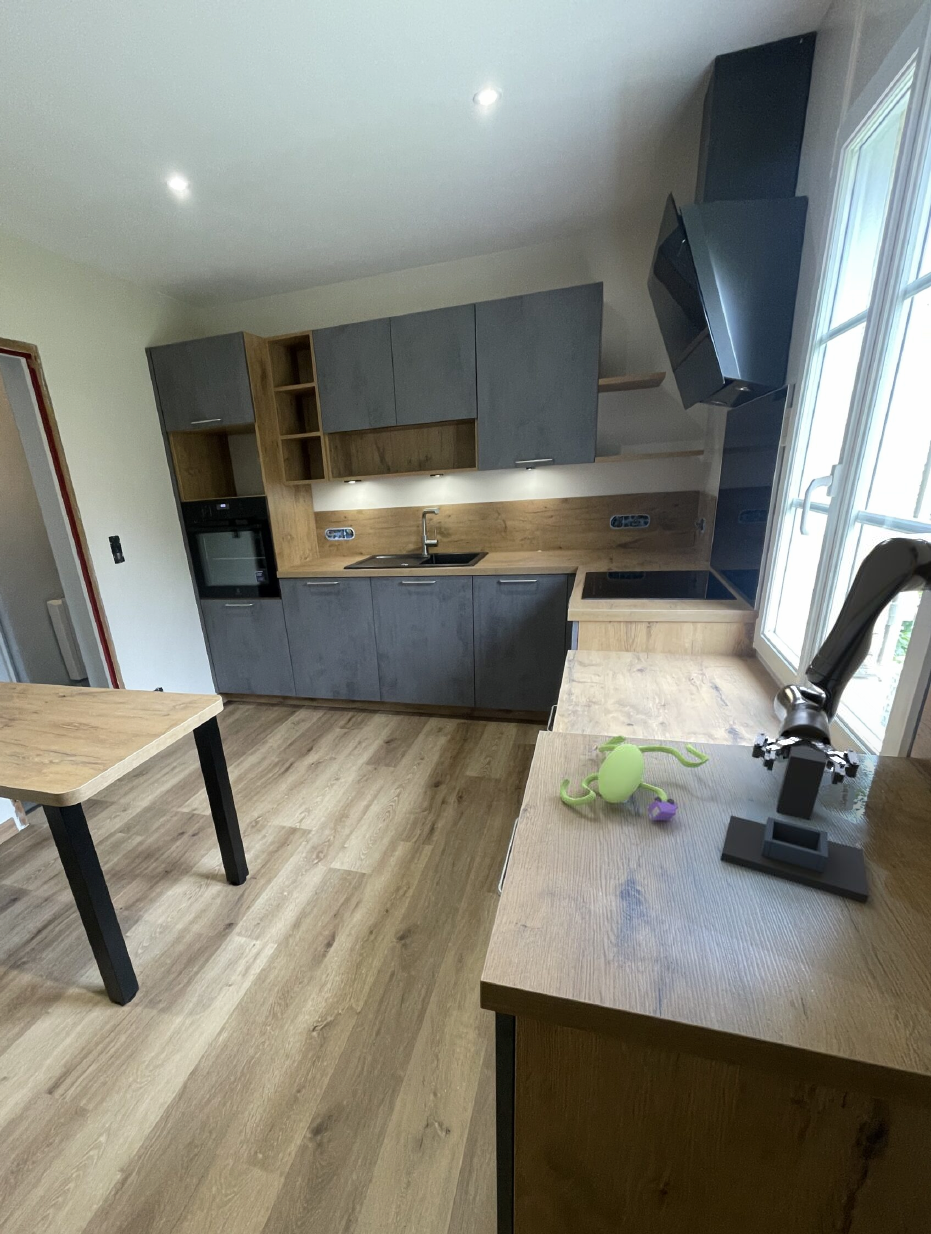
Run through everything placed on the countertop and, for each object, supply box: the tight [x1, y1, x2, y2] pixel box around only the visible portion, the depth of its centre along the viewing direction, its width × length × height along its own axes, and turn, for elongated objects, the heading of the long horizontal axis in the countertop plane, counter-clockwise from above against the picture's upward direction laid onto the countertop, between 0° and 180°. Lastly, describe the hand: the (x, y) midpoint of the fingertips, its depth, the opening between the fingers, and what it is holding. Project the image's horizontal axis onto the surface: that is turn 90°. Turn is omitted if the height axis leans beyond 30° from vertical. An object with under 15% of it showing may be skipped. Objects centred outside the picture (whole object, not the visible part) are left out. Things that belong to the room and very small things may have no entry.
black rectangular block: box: [776, 746, 826, 821], centre depth 86 cm, size 4×4×10 cm
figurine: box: [559, 735, 709, 822], centre depth 95 cm, size 18×27×6 cm
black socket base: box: [720, 814, 869, 904], centre depth 76 cm, size 16×11×4 cm
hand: (802, 772), depth 87 cm, fingers open, 8 cm apart
